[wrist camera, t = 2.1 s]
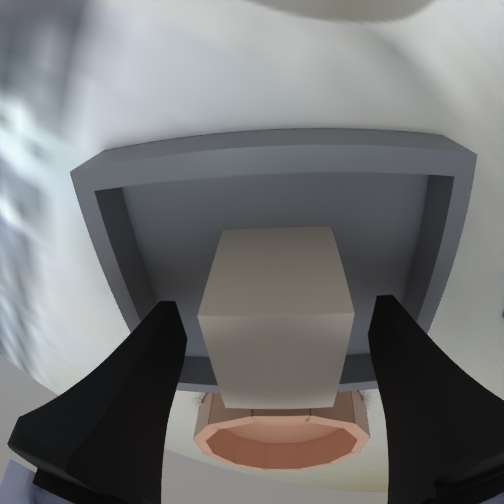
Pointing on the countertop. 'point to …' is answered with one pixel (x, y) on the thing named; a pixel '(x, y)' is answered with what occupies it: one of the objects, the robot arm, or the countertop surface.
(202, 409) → the bowl
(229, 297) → the stone block
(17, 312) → the countertop surface
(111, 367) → the robot arm
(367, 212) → the parts tray
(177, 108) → the countertop surface
